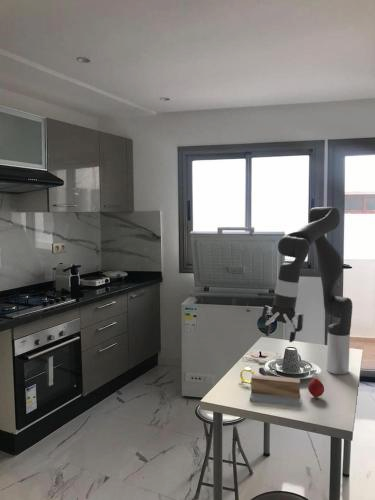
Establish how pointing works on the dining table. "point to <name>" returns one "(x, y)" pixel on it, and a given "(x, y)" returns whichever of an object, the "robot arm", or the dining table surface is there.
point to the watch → (246, 370)
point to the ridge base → (274, 399)
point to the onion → (316, 387)
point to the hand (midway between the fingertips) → (278, 338)
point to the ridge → (275, 386)
